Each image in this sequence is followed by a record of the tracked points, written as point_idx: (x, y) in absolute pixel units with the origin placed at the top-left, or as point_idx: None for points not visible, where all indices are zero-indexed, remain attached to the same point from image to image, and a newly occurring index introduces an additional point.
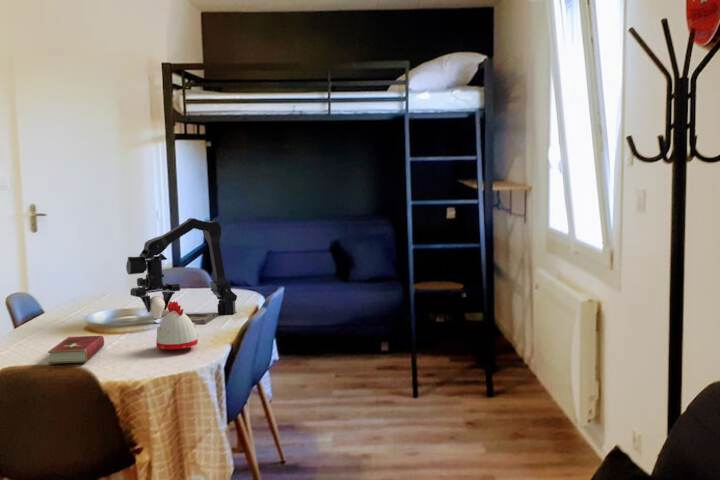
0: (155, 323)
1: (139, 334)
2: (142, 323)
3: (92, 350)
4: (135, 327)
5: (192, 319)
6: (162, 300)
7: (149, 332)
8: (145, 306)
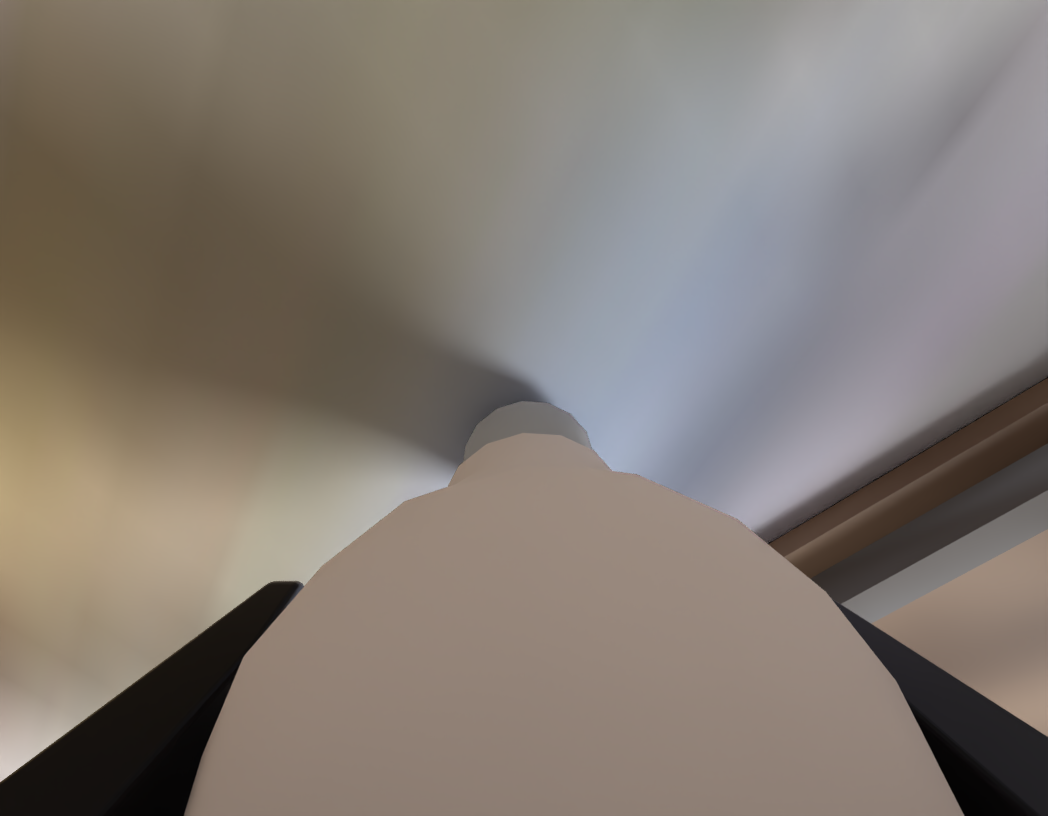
0: (510, 398)
1: None
2: (324, 192)
3: None
4: (106, 431)
5: None
6: None
7: None
8: (94, 728)
